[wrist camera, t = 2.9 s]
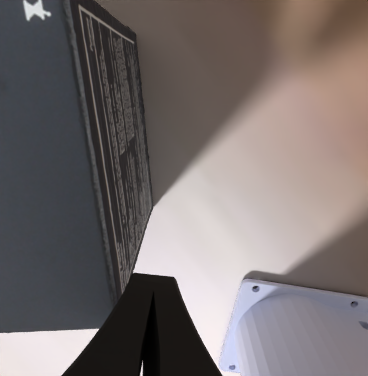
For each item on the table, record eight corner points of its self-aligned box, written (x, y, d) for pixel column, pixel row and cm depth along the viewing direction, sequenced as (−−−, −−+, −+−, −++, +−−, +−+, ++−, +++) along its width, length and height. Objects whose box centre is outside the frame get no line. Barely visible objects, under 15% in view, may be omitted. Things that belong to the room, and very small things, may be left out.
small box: (17, 37, 17) (-216, -26, 7) (136, 28, 17) (71, -49, 7) (55, 216, 20) (-67, 344, 10) (156, 210, 20) (129, 333, 10)
